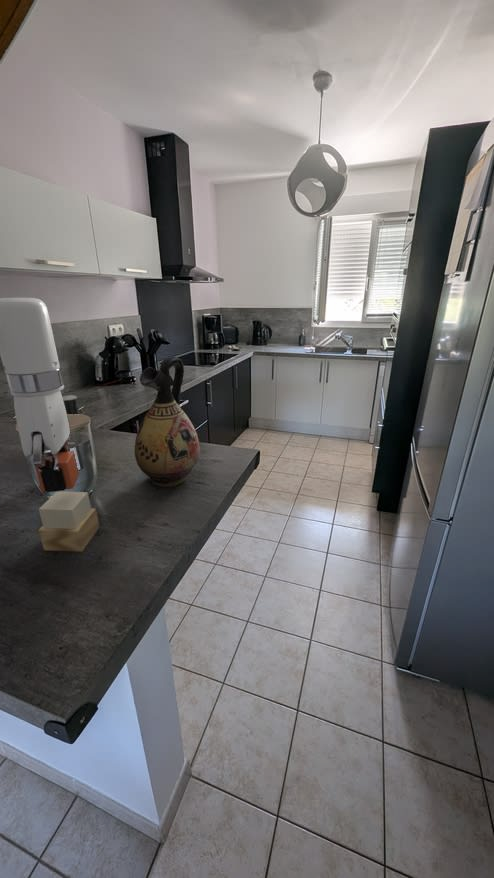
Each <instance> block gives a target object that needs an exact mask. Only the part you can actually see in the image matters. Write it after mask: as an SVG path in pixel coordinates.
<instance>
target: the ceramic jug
mask: <svg viewBox="0 0 494 878" xmlns="http://www.w3.org/2000/svg"><path fill="white" fill-rule="evenodd" d="M172 367H174V377H172V376H171V374H170V369H171V368H172ZM184 373H185V366H184V362H183V360H182V359H181V358H179V357H178V356H170V357H165V358H164V359H163V360H162V361H161V363H160V368H159V369H158V370H157V369H155V368H153V367H151V366H148V367H145V369H143V371H142V372H141V373H140V375H139V382H140V384H141V385H142V386H143V387H147V388H150V389H154V390H156V391H157V394H156V398H155V399H154V401H153V403H152V405H151V406H150V408H149V409H148V411H147V412H146V414H145V415H144V418H143V420H142V421H141V424H140V425H139V427H138V429H137V430H138V431H137V433H136V437H135V443H134V458H135V461H136V464H137V466H138V468H139V469H140V470H141V471H142V472H141V473H144V474H145V476H147V477H148V478H149V481H150V483H151V484H152V486H154V487H163V488H169V487H175V486H178V485H180V484H182V483H184V482H185V481H186V480H187V479H188V476H189V474H190V473H191V471H192V470H193V469H194V467H195V466H196V465H197V463H198V460H199V457H200V453H201V452H200V449H201V448H200V440H199V437H198V433H197V431H196V429H195V427H194V425H193V423H192V421H191V420H190V418H189V416H188V415H187V413H185V411H184V410H183V409H182V408H181V406H180V404H181V403H180V401H181V399H180V397H181V391H182V386H183V382H184V375H185V374H184Z"/></svg>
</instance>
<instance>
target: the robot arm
mask: <svg viewBox="0 0 494 878" xmlns="http://www.w3.org/2000/svg"><path fill="white" fill-rule="evenodd" d="M0 359H1V363H2V367H3V370H4V374H5V378H6V381H7V384H8V388H9V392H10V395H11V396H12V397H13V406H14V408H13V409H14V414H15V415H14V416H15V421H16V426H17V431H18V435H19V440H20V445H21V448H22V452H23V455H24V456H25V458H31V457H32V465H33V466H34V467H35V466H37V467H38V469H39V472H40V473H41V477H42V481H43V485H44V489H45V491H46V492H45V493H53V492H55V493H56V492H65V490H67V489H66V484H65V480H64V476H63V472H62V468H59V463H58V455H57V453H58V452H69V451H70V449H69V446H68V443H67V441H68V440H67V439H68V437H69V435H70V428H69V422H68V417H67V413H66V409H65V405H64V402H63V398H62V397H63V395H62V392H61V391H63V390H64V389H65V384H64V379H63V375H62V369H61V366H60V365H61V364H60V361H59V355H58V351H57V346H56V342H55V337H54V332H53V328H52V323H51V319H50V313H49V310H48V306H47V305H46V302H44V301H43V300H41V299H39V298H36V297H0ZM45 450H50V451H45ZM48 456H52V462H51V461H50V460H46V458H45V457H48Z"/></svg>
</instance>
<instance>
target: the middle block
mask: <svg viewBox="0 0 494 878" xmlns="http://www.w3.org/2000/svg"><path fill="white" fill-rule="evenodd" d="M91 508H92V506H91V501H90V497H89V492H87V491H55V493H53V495H52V496H51V497H50V498H48V499H47V500H46V502H44V503H43V504H42V505H41V506H40V507H39V508H38V513H39V515H40V520H41V523H42V526H43V527H44V528H62V529H76V528H77V527H78V526H79V525H80V523H81V522H82V521H83V520H84V518H85V517H86V516H87V515H88V514H89V512H90V511H91Z"/></svg>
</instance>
